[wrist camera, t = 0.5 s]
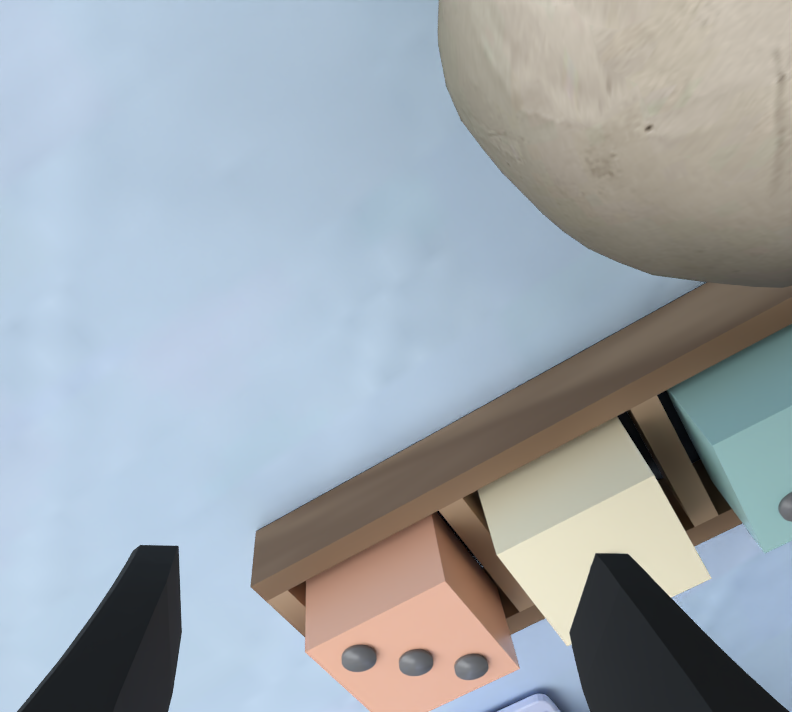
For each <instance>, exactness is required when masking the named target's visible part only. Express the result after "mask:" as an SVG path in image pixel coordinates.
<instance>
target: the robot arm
mask: <svg viewBox="0 0 792 712" xmlns="http://www.w3.org/2000/svg"><path fill="white" fill-rule="evenodd" d="M181 633H182V628H181V601H180V574H179V547H178V546H155V545H140V546H139V547H137V548H136V549H135V550H133V552H132V554H131V555H130V557H129V559H128V561H127V562H126V564H125V566H124V568H123V569H122V571H121V572H120V574H119V576H118V577H117V579H116V580H115V582H114V584H113V585H112V587H111V588H110V590H109V591H108V593H107V594H106V596H105V597H104V599H103V600H102V602H101V603H100V605H99V606H98V608H97V609H96V611H95V612H94V614H93V615H92V616H91V618H90V619H89V620H88V622H87V623H86V625H85V626H84V627H83V629H82V630H81V631H80V633H79V634H78V635H77V637H76V638H75V640H74V641H73V642H72V644H71V645H70V646H69V648H68V649H67V651H66V652H65V653H64V654H63V656H62V657H61V658H60V660H59V661H58V662H57V663H56V665H55V666H54V667H53V668H52V670H51V671H50V672H49V673H48V675H47V676H46V677H45V678H44V679H43V681H42V682H41V683H40V684H39V686H38V687H37V688H36V689H35V691H34V692H33V693H32V694H31V695H30V697H29V698H28V699H27V700H26V702H25V703H24V704H23V705H22V706H21V708H20V709H19V710H18V711H17V712H168V709H169V705H170V701H171V697H172V693H173V687H174V680H175V674H176V667H177V661H178V654H179V647H180V640H181ZM569 634H570V639H571V643H572V648H573V652H574V657H575V661H576V665H577V669H578V673H579V677H580V681H581V685H582V689H583V692H584V695H585V698H586V701H587V704H588V706H589V709H590V712H789V711H788V710H787V709H786V708H785V707H783V706H782V705H781V704H780V703H779V702H778V701H776V700H775V699H774V698H773V697H772V696H771V695H770V694H769V693H768V692H767V691H765V690H764V689H763V688H762V687H761V686H760V685H759V684H758V683H757V682H756V681H755V680H753V679H752V678H751V677H750V676H749V675H748V674H747V673H746V672H745V671H744V670H743V669H742V668H740V667H739V666H738V665H737V664H736V663H735V662H734V661H733V660H732V659H731V658H730V657H729V656H728V655H727V654H726V653H725V652H724V651H723V650H722V649H721V648H720V647H719V646H718V645H717V644H716V643H715V642H714V641H713V640H712V639H711V638H710V637H709V636H708V635H707V634H706V633H705V632H704V631H703V630H702V629H701V628H700V627H699V626H698V625H697V624H696V623H695V622H694V621H693V620H692V619H691V618H690V617H689V616H688V615H687V614H686V613H685V612H684V611H683V610H682V609H681V608H680V607H679V606H678V605H677V604H676V603H675V602H674V601H673V599H672V598H671V597H670V596H669V595H668V594H667V593H666V592H665V591H664V590H663V589H662V588H661V587H660V586H659V585H658V584H657V583H656V582H655V581H654V580H653V579H652V578H651V576H650V575H649V574H648V573H647V572H646V571H645V570H644V569H643V568H642V567H641V566H640V565H639V564H638V563H637V562H636V561H635V560H634V559H633V558H632V557H631V556H630V555H629V554H620V553H595V556H594V559H593V562H592V565H591V568H590V571H589V574H588V577H587V580H586V583H585V586H584V589H583V592H582V595H581V598H580V602H579V605H578V608H577V611H576V614H575V617H574V620H573V623H572V626H571V629H570V632H569ZM497 712H561V711H560V710H559V709H558V708H557V706H556V705H555V704H554V703H553V702H552V701H551V699H550V698H549V697H548V696H546V695H545V694H534V695H531V696H529V697H527V698H525V699H523V700H521V701H518V702H516V703H514V704H512V705H510V706H508V707H505V708H503V709H501V710H499V711H497Z"/></svg>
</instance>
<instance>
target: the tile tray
mask: <svg viewBox="0 0 792 712" xmlns="http://www.w3.org/2000/svg"><path fill="white" fill-rule="evenodd" d="M791 324H792V286H788V287H784V288H771V287H750V286H741V285H730V284H719V283H711V282H707V283H705V284H703V285H701V286H700V287H698V288H696V289H694V290H692V291H691V292H689V293H687V294H685V295H683V296H682V297H680V298H678V299H676V300H674V301H673V302H671V303H669V304H667V305H665V306H663V307H662V308H660V309H658V310H656V311H654V312H653V313H651V314H649V315H647V316H645V317H644V318H642V319H640V320H638V321H636V322H634V323H633V324H631V325H629V326H627V327H625V328H624V329H622V330H620V331H618V332H616V333H615V334H613V335H611V336H609V337H607V338H606V339H604V340H602V341H600V342H598V343H596V344H595V345H593V346H591V347H589V348H587V349H586V350H584V351H582V352H580V353H578V354H577V355H575V356H573V357H571V358H569V359H568V360H566V361H564V362H562V363H560V364H558V365H557V366H555V367H553V368H551V369H549V370H548V371H546V372H544V373H542V374H540V375H539V376H537V377H535V378H533V379H531V380H529V381H528V382H526V383H524V384H522V385H520V386H519V387H517V388H515V389H513V390H511V391H510V392H508V393H506V394H504V395H502V396H501V397H499V398H497V399H495V400H493V401H491V402H490V403H488V404H486V405H484V406H482V407H481V408H479V409H477V410H475V411H473V412H472V413H470V414H468V415H466V416H464V417H462V418H461V419H459V420H457V421H455V422H453V423H452V424H450V425H448V426H446V427H444V428H443V429H441V430H439V431H437V432H435V433H434V434H432V435H430V436H428V437H426V438H424V439H423V440H421V441H419V442H417V443H415V444H414V445H412V446H410V447H408V448H406V449H405V450H403V451H401V452H399V453H397V454H396V455H394V456H392V457H390V458H388V459H386V460H385V461H383V462H381V463H379V464H377V465H376V466H374V467H372V468H370V469H368V470H367V471H365V472H363V473H361V474H359V475H357V476H356V477H354V478H352V479H350V480H348V481H347V482H345V483H343V484H341V485H339V486H338V487H336V488H334V489H332V490H330V491H329V492H327V493H325V494H323V495H321V496H319V497H318V498H316V499H314V500H312V501H310V502H309V503H307V504H305V505H303V506H301V507H300V508H298V509H296V510H294V511H292V512H290V513H289V514H287V515H285V516H283V517H281V518H280V519H278V520H276V521H274V522H272V523H271V524H269V525H267V526H265V527H263V528H262V529H260V530H258V531H256V537H255V547H254V557H253V567H252V578H251V588H252V589H253V590H255V591H256V592H257V593H258V594H259V595H260V596H261V597H262V598H263V599H264V600H265V601H266V602H267V603H269V604H270V605H271V606H272V607H273V608H274V609H275V610H276V611H277V612H278V613H279V614H280V615H282V616H283V617H284V618H285V619H286V620H287V621H288V622H289V623H290V624H291V625H292V626H293V627H294V628H296V629H297V630H298V631H299V632H300V633H301V634H302V635H303V636H304V637H305V622H306V580H308V579H310V578H312V577H314V576H316V575H318V574H319V573H321V572H323V571H325V570H327V569H329V568H331V567H333V566H335V565H336V564H338V563H340V562H342V561H344V560H346V559H348V558H350V557H352V556H353V555H355V554H357V553H359V552H361V551H363V550H365V549H367V548H369V547H370V546H372V545H374V544H376V543H378V542H380V541H382V540H384V539H386V538H388V537H389V536H391V535H393V534H395V533H397V532H399V531H401V530H403V529H405V528H406V527H408V526H410V525H412V524H414V523H416V522H418V521H420V520H422V519H423V518H425V517H427V516H429V515H431V514H433V513H435V512H437V511H439V512H440V513H441V514H442V515H443V517H444V518H445V519H446V520H447V522H448V523H449V524H450V525H451V527H452V528H453V529H454V530H455V532H456V533H457V534H458V535H459V537H460V538H461V539H462V540H463V542H464V543H465V544H466V545H467V547H468V548H469V549H470V550H471V552H472V553H473V554H474V555H475V557H476V558H477V559H478V560H479V562H480V563H481V564H482V565H483V567H484V569H483V570H484V571H485V573H486V574H487V575H488V576H489V578H490V579H491V580H492V581H493V583H494V584H495V585H496V586H497V589H498V592H499V596H500V600H501V603H502V607H503V610H504V614H505V617H506V621H507V625H508V628H509V632H510V635H511V634H513V633H515V632H517V631H520V630H522V629H524V628H526V627H528V626H530V625H532V624H534V623H536V622H538V621H540V620H542V619H545V617H544V615H543V614H542V613H541V612H540V610H539V609H538V608H537V606H536V605H535V604H534V603H533V601H532V600H531V599H530V597H529V596H528V595H527V594H526V592H525V591H524V590H523V588H522V587H521V586H520V584H519V583H518V582H517V581H516V579H515V578H514V577H513V575H512V574H511V573H510V572H509V570H508V569H507V568H506V566H505V565H504V564H503V563H502V561H501V560H500V559H499V557H498V556H497V555H496V551H495V548H494V544H493V541H492V538H491V534H490V531H489V527H488V524H487V521H486V517H485V514H484V510H483V507H482V504H481V500H480V497H479V493H478V489H480V488H482V487H484V486H486V485H488V484H490V483H492V482H493V481H495V480H497V479H499V478H501V477H503V476H505V475H507V474H509V473H510V472H512V471H514V470H516V469H518V468H520V467H522V466H524V465H526V464H528V463H529V462H531V461H533V460H535V459H537V458H539V457H541V456H543V455H545V454H546V453H548V452H550V451H552V450H554V449H556V448H558V447H560V446H562V445H563V444H565V443H567V442H569V441H571V440H573V439H575V438H577V437H579V436H580V435H582V434H584V433H586V432H588V431H590V430H592V429H594V428H596V427H598V426H599V425H601V424H603V423H605V422H607V421H609V420H611V419H613V418H615V417H616V416H618V415H620V414H622V413H624V412H626V411H627V413H628V415H629V417H630V418H631V420H632V422H633V424H634V426H635V428H636V429H637V431H638V433H639V435H640V437H641V438H642V440H643V442H644V444H645V446H646V448H647V449H648V451H649V453H650V455H651V457H652V459H653V460H654V462H655V464H656V466H657V468H658V469H659V471H660V473H661V475H662V477H663V478H662V479H660V480H658V483H659V485H660V487H661V488H662V490H663V492H664V494H665V496H666V497H667V499H668V501H669V503H670V505H671V506H672V508H673V510H674V512H675V514H676V515H677V517H678V519H679V521H680V523H681V524H682V526H683V528H684V530H685V532H686V533H687V535H688V537H689V539H690V541H691V542H692V544H693V546H696V545H698V544H700V543H702V542H705V541H707V540H709V539H711V538H713V537H715V536H717V535H719V534H721V533H723V532H725V531H727V530H730V529H732V528H734V527H736V526H738V525H740V524H742V522H741V520H740V519H739V518H738V516H737V515H736V514H735V512H734V511H733V509H732V508H731V507H730V505H729V504H728V503H727V501H726V500H725V499H724V497H723V496H722V494H721V493H720V492H719V490H718V489H717V488H716V486H715V485H714V483H713V482H712V481H711V479H710V477H709V475H708V473H707V471H706V469H705V467H704V465H703V463H702V461H701V459H700V460H698V461H696V462H694V463H691V461H690V459H689V457H688V455H687V453H686V451H685V449H684V447H683V445H682V443H681V441H680V439H679V437H678V435H677V433H676V431H675V429H674V427H673V426H672V424H671V422H670V420H669V418H668V416H667V414H666V412H665V410H664V408H663V406H662V404H661V402H660V400H659V398H658V396H657V395H658V394H660V393H662V392H664V391H666V390H668V389H669V388H671V387H673V386H675V385H677V384H679V383H681V382H683V381H685V380H686V379H688V378H690V377H692V376H694V375H696V374H698V373H700V372H702V371H703V370H705V369H707V368H709V367H711V366H713V365H715V364H717V363H719V362H721V361H722V360H724V359H726V358H728V357H730V356H732V355H734V354H736V353H738V352H739V351H741V350H743V349H745V348H747V347H749V346H751V345H753V344H755V343H756V342H758V341H760V340H762V339H764V338H766V337H768V336H770V335H772V334H773V333H775V332H777V331H779V330H781V329H783V328H785V327H787V326H789V325H791Z"/></svg>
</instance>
